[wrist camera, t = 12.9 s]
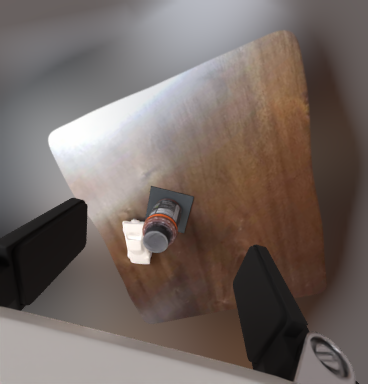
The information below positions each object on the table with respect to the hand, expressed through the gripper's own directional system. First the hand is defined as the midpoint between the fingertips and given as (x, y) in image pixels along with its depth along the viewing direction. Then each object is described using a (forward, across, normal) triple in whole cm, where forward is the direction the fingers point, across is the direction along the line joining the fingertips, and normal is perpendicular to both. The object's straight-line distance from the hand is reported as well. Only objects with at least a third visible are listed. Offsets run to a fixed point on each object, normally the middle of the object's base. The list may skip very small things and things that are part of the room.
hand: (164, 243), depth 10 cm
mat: (+25, +2, +12) cm, 28 cm away
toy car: (+25, +7, +21) cm, 33 cm away
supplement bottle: (+25, +2, +12) cm, 27 cm away
